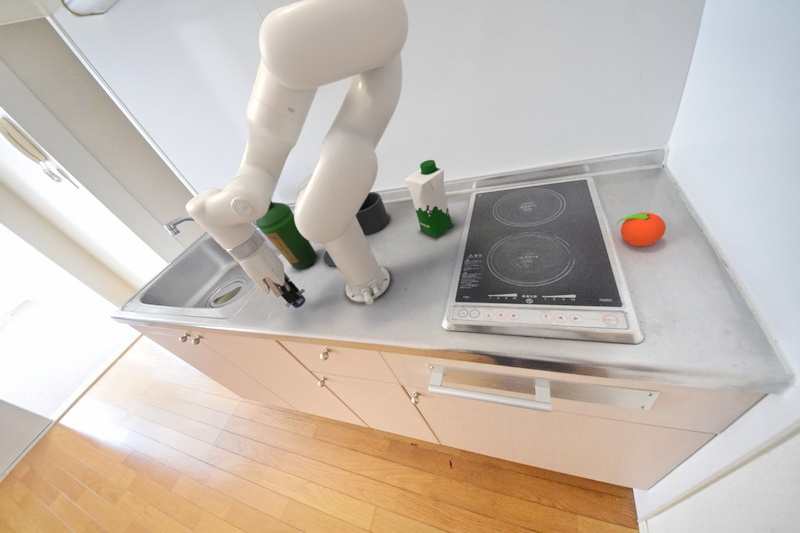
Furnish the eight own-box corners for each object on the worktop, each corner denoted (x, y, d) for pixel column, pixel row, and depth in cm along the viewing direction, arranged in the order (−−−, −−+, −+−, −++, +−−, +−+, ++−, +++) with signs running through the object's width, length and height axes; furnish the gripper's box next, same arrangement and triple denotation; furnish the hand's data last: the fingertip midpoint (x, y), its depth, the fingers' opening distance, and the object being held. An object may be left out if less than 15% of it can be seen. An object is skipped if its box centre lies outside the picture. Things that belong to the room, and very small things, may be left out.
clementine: (611, 250, 58) (619, 224, 53) (610, 231, 62) (618, 204, 57) (660, 254, 54) (674, 226, 49) (657, 233, 58) (669, 205, 53)
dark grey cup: (393, 224, 91) (385, 201, 85) (360, 239, 90) (349, 217, 84) (382, 210, 101) (374, 188, 95) (352, 224, 99) (342, 203, 93)
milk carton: (457, 225, 80) (445, 161, 67) (435, 241, 78) (419, 178, 65) (437, 217, 87) (423, 157, 74) (416, 232, 84) (398, 172, 71)
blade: (310, 304, 69) (293, 285, 64) (290, 315, 69) (271, 297, 64) (308, 290, 74) (292, 272, 69) (289, 300, 73) (271, 282, 68)
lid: (368, 254, 83) (360, 239, 79) (328, 274, 81) (318, 259, 77) (357, 234, 93) (350, 220, 89) (322, 251, 92) (313, 238, 88)
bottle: (293, 257, 94) (240, 186, 76) (321, 247, 94) (274, 173, 76) (289, 277, 86) (229, 202, 68) (320, 266, 86) (267, 187, 68)
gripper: (234, 235, 64) (280, 285, 76) (224, 273, 52) (282, 325, 63) (263, 221, 64) (304, 273, 76) (260, 255, 52) (310, 310, 64)
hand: (294, 296), depth 70 cm, fingers closed on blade
